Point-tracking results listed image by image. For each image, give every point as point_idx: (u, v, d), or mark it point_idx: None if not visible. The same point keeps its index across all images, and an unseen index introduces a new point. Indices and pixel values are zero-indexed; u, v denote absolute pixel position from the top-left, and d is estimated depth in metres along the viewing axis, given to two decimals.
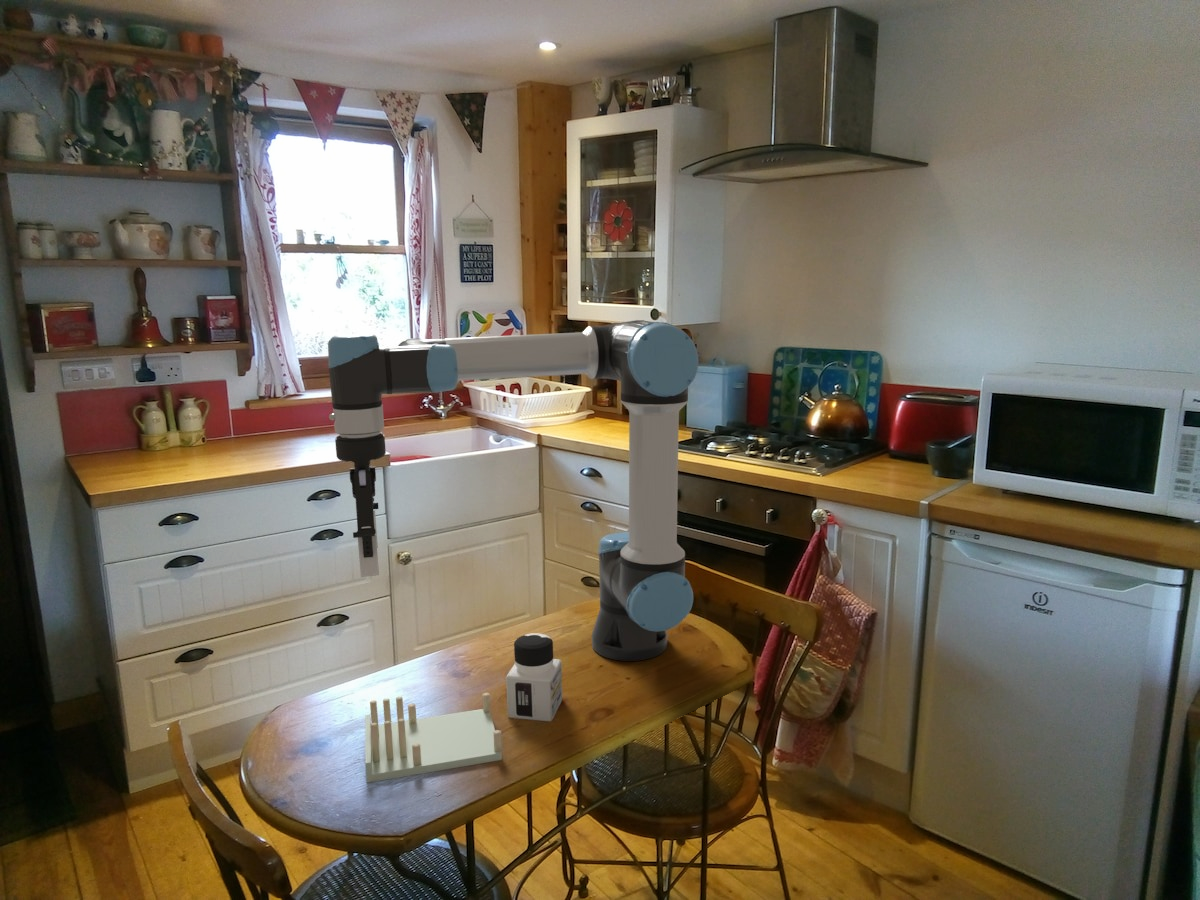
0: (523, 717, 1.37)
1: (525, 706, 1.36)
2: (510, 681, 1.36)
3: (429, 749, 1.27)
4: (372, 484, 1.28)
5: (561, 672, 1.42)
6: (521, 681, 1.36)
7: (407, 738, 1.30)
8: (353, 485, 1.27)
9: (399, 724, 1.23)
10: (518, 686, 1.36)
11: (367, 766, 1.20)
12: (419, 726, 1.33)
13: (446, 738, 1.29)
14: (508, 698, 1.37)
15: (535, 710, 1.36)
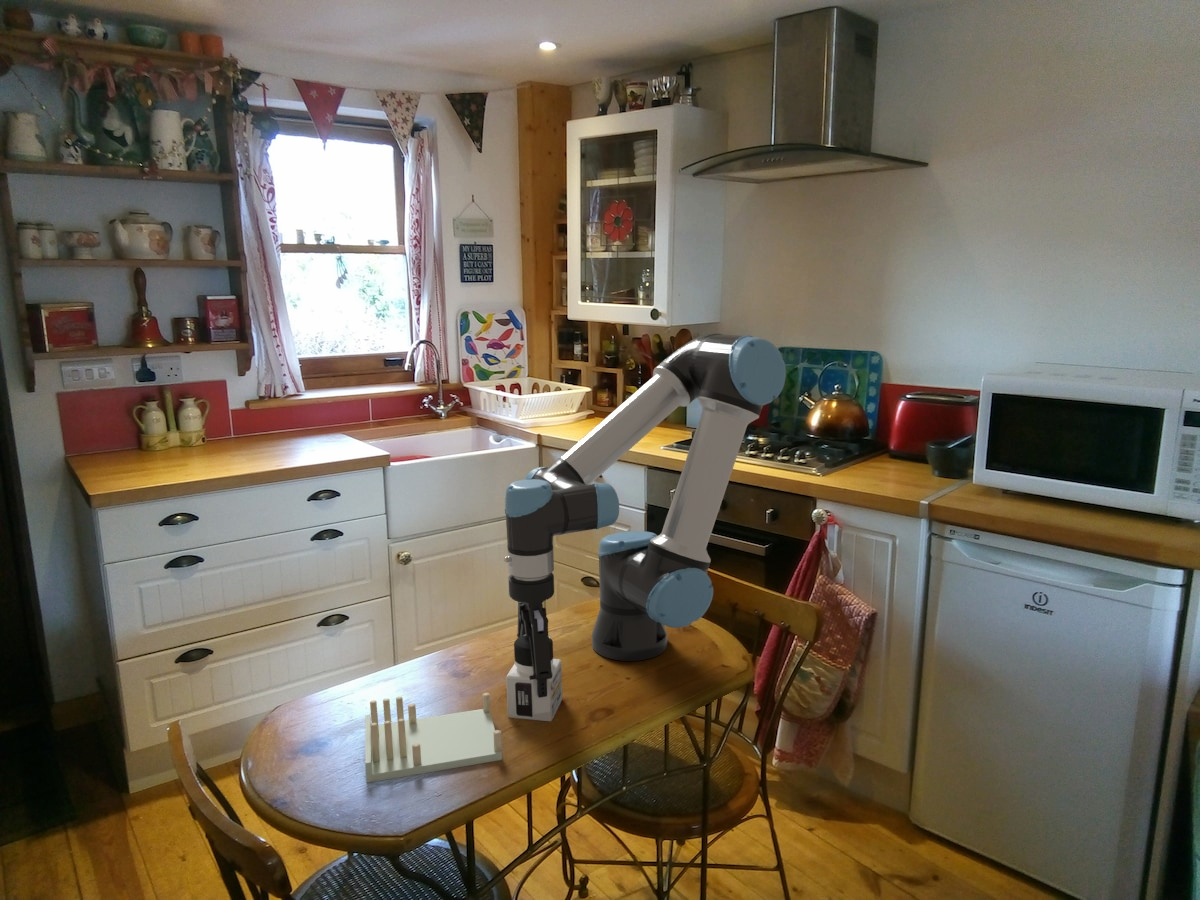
0: (523, 717, 1.37)
1: (525, 706, 1.36)
2: (510, 681, 1.36)
3: (429, 749, 1.27)
4: None
5: (561, 672, 1.42)
6: (521, 681, 1.36)
7: (407, 738, 1.30)
8: (527, 625, 1.34)
9: (399, 724, 1.23)
10: (518, 685, 1.36)
11: (367, 766, 1.20)
12: (419, 726, 1.33)
13: (446, 738, 1.29)
14: (508, 698, 1.37)
15: None
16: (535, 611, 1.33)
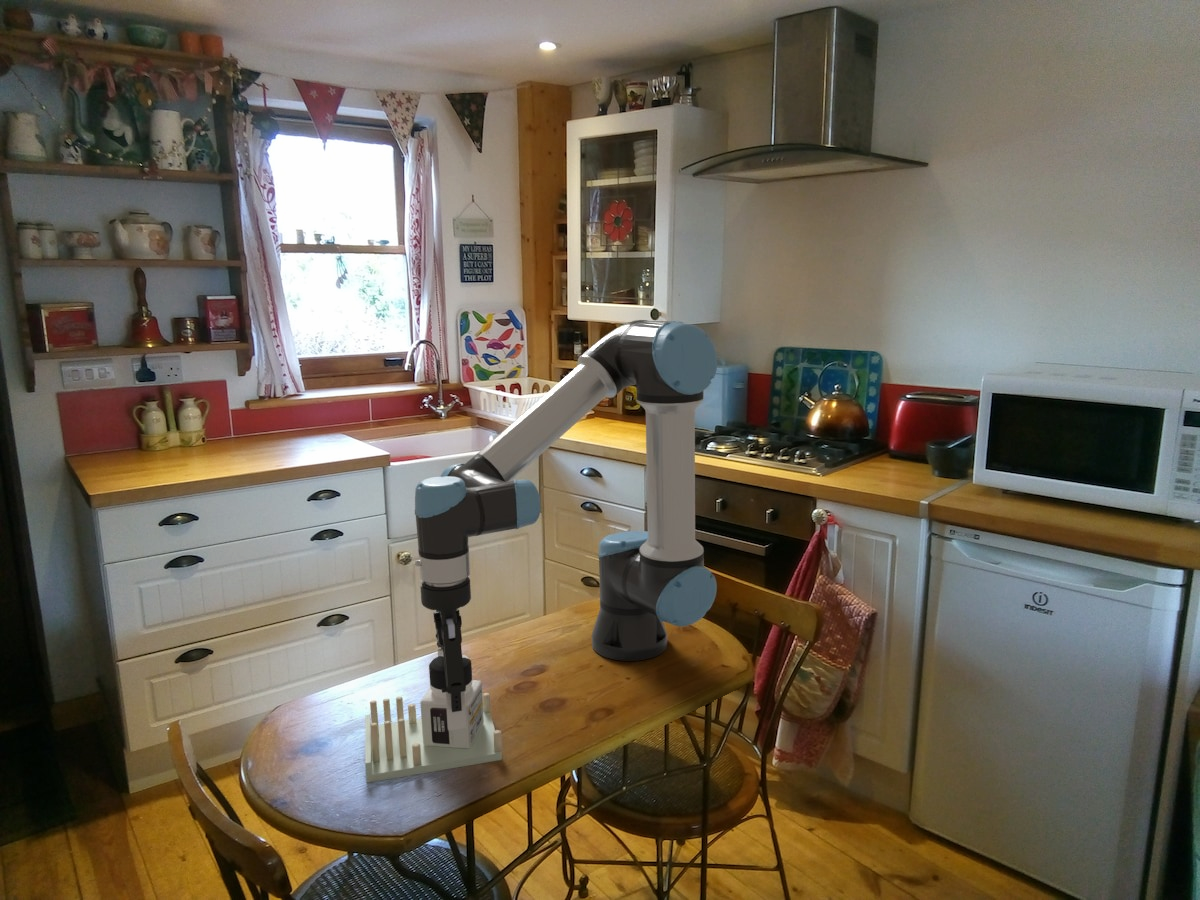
0: (439, 745, 1.27)
1: (441, 733, 1.26)
2: (425, 706, 1.26)
3: (429, 749, 1.27)
4: None
5: None
6: (437, 706, 1.26)
7: (407, 738, 1.30)
8: (439, 634, 1.23)
9: (399, 724, 1.23)
10: (433, 711, 1.26)
11: (367, 766, 1.20)
12: (419, 726, 1.33)
13: None
14: (423, 725, 1.27)
15: (452, 736, 1.26)
16: (448, 619, 1.23)
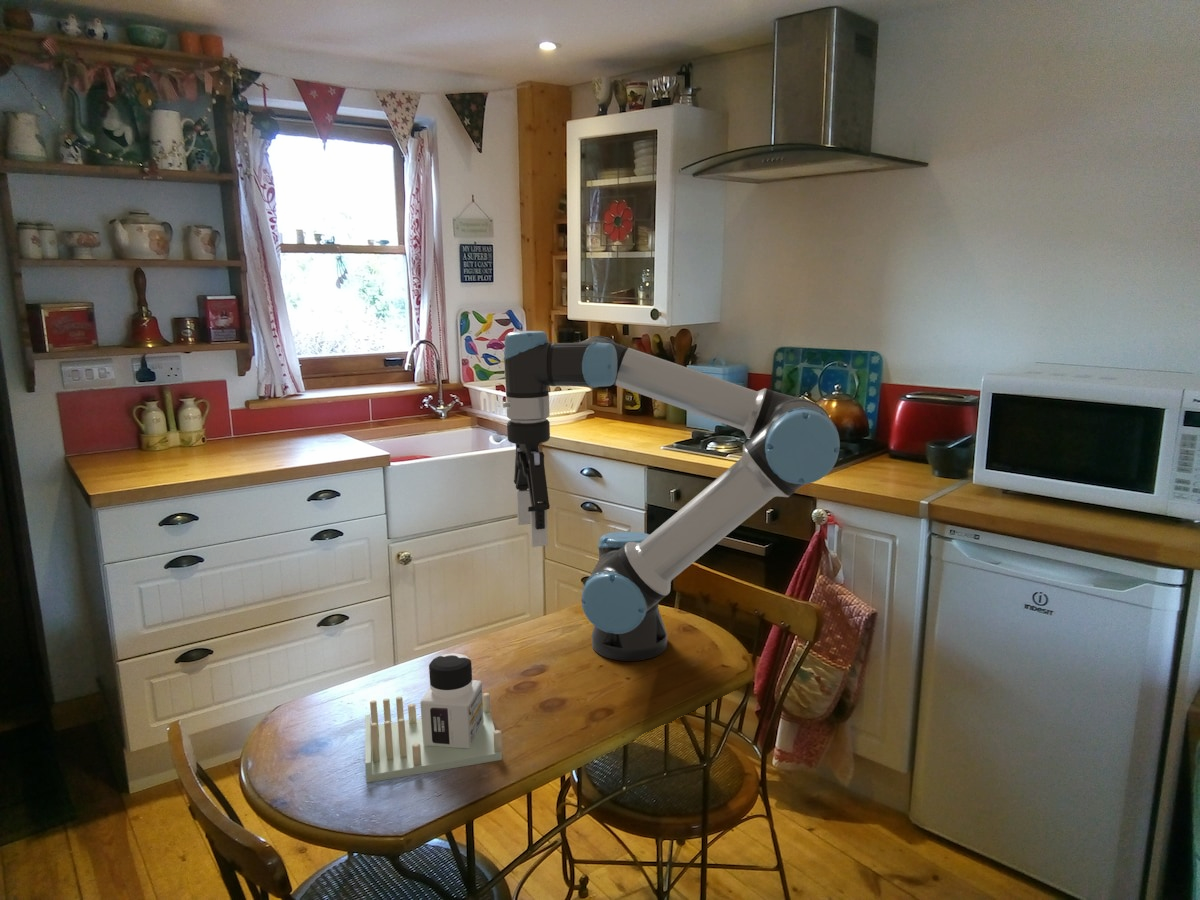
0: (439, 745, 1.27)
1: (441, 733, 1.26)
2: (425, 706, 1.26)
3: (429, 749, 1.27)
4: None
5: None
6: (437, 706, 1.26)
7: (407, 738, 1.30)
8: (524, 465, 1.43)
9: (399, 724, 1.23)
10: (433, 711, 1.26)
11: (367, 766, 1.20)
12: (419, 726, 1.33)
13: None
14: (423, 725, 1.27)
15: (452, 736, 1.26)
16: (532, 451, 1.42)
